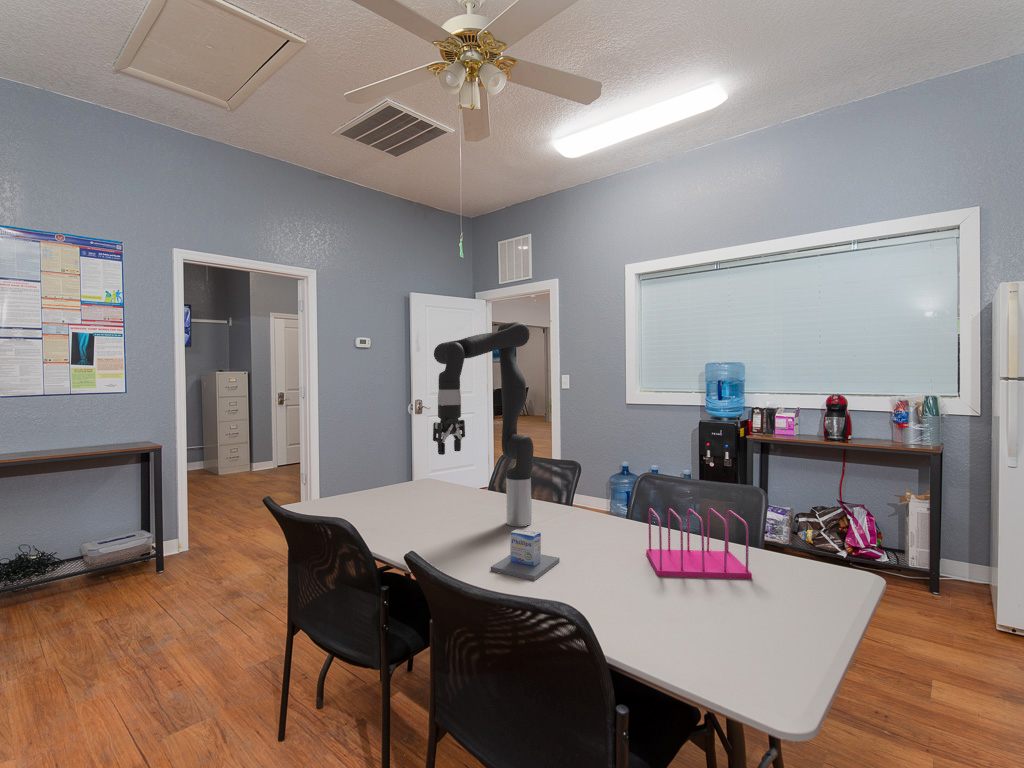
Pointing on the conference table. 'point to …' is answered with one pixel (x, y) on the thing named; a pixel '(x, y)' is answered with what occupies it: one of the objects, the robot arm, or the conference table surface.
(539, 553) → the medicine box
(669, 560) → the file sorter
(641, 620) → the conference table surface
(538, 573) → the slate tile
